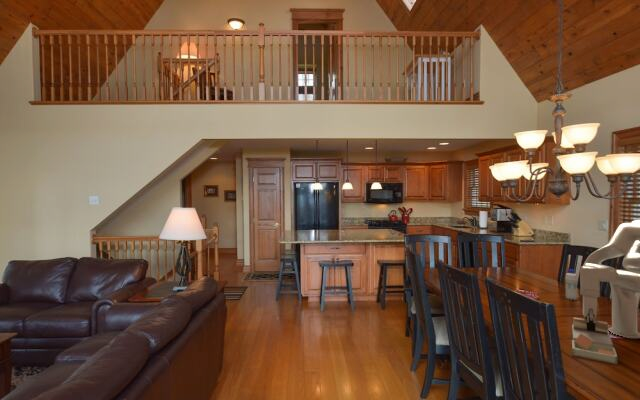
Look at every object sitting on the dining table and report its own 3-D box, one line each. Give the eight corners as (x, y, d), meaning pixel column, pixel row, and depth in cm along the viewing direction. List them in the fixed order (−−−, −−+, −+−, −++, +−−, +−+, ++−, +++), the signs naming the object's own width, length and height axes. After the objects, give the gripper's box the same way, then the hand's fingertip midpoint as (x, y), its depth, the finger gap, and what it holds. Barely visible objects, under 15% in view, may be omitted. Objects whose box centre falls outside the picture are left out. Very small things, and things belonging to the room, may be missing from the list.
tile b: (579, 334, 161) (580, 333, 160) (591, 342, 158) (592, 341, 157) (573, 342, 159) (575, 340, 158) (585, 350, 156) (587, 349, 155)
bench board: (572, 332, 179) (572, 324, 179) (607, 337, 171) (607, 329, 171) (573, 346, 162) (573, 337, 162) (612, 353, 155) (612, 344, 154)
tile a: (598, 353, 150) (598, 357, 150) (614, 355, 147) (614, 360, 147) (597, 348, 154) (597, 353, 154) (612, 351, 151) (612, 356, 151)
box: (572, 346, 162) (572, 339, 162) (614, 354, 154) (614, 347, 154) (572, 355, 153) (572, 348, 153) (617, 364, 145) (617, 357, 145)
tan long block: (573, 327, 175) (573, 317, 175) (607, 332, 167) (607, 322, 167) (573, 329, 173) (573, 318, 173) (607, 334, 165) (607, 323, 165)
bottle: (565, 297, 237) (565, 267, 237) (578, 299, 233) (577, 268, 233) (564, 299, 232) (564, 269, 232) (577, 301, 228) (577, 270, 228)
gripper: (579, 287, 179) (579, 320, 179) (581, 295, 165) (581, 332, 165) (598, 289, 175) (598, 323, 175) (601, 297, 160) (602, 335, 161)
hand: (590, 327), depth 170 cm, fingers open, 9 cm apart
